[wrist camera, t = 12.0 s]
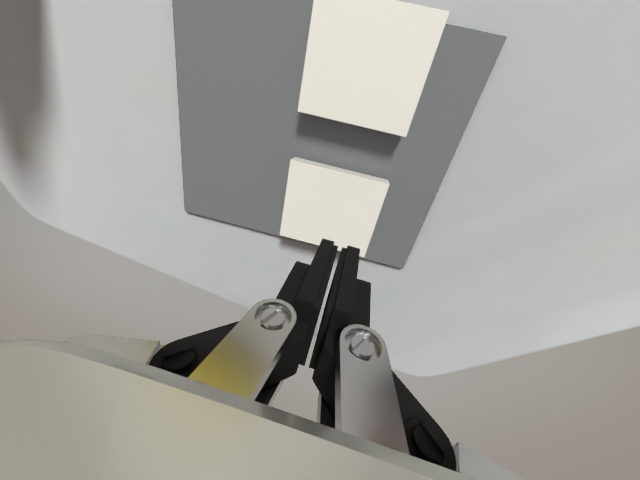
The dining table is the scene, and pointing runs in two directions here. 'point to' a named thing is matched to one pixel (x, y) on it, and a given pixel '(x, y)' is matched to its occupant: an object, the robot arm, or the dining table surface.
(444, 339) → the dining table surface
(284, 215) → the tile
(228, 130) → the mat
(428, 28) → the tile
